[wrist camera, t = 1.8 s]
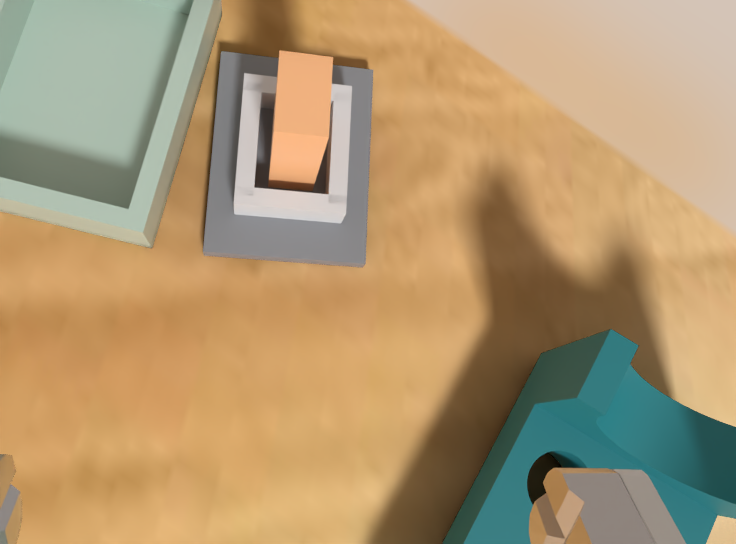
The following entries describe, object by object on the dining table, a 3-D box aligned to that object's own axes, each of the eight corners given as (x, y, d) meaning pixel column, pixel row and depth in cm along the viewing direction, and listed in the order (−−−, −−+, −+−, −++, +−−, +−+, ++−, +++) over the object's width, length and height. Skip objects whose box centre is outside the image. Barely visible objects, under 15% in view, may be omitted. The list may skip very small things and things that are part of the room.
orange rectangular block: (268, 187, 38) (273, 131, 30) (272, 121, 39) (279, 50, 31) (312, 191, 38) (328, 137, 31) (316, 125, 39) (333, 57, 31)
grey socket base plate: (204, 255, 38) (200, 242, 35) (221, 59, 40) (219, 32, 37) (362, 267, 39) (371, 256, 36) (370, 77, 41) (379, 53, 39)
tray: (-55, 197, 36) (-87, 175, 32) (35, -41, 39) (15, -83, 36) (152, 248, 37) (142, 232, 34) (222, 14, 40) (219, -22, 37)
